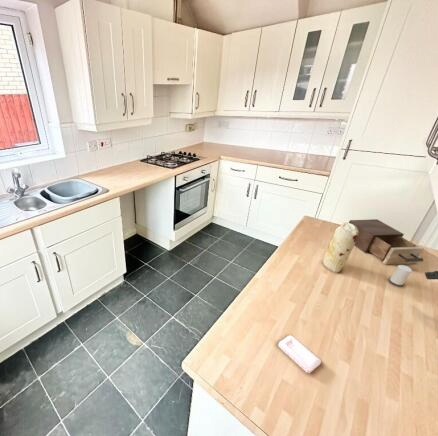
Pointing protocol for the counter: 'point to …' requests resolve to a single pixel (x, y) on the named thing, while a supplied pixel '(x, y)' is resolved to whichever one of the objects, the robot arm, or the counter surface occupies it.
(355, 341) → the counter surface
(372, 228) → the cabinet
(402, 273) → the tube
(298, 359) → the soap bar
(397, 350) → the counter surface
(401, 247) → the drawer
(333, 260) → the food model
